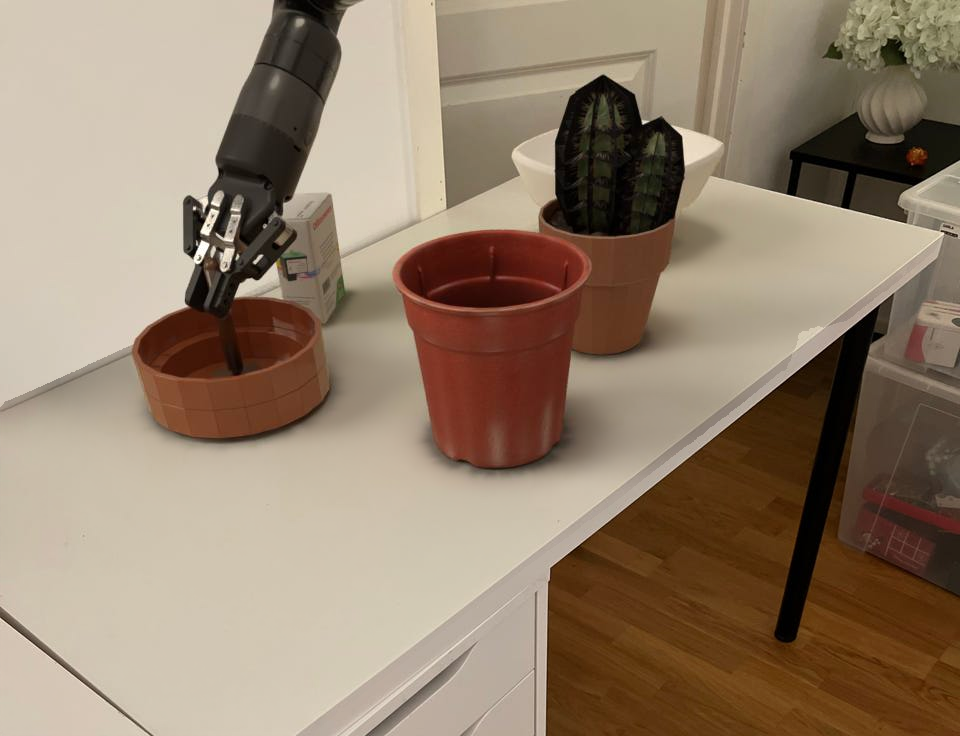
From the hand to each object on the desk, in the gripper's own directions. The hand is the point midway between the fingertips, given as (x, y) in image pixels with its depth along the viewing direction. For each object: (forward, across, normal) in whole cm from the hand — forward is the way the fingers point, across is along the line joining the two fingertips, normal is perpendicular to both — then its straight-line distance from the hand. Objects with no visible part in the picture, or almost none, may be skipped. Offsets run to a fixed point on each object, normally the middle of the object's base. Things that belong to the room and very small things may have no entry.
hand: (203, 310), depth 91 cm
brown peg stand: (+5, 0, +8) cm, 9 cm away
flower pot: (0, +27, +14) cm, 30 cm away
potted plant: (-16, +25, +30) cm, 42 cm away
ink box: (-8, -8, +22) cm, 25 cm away
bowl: (-32, +12, +46) cm, 58 cm away
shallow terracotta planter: (+6, 0, +8) cm, 10 cm away
